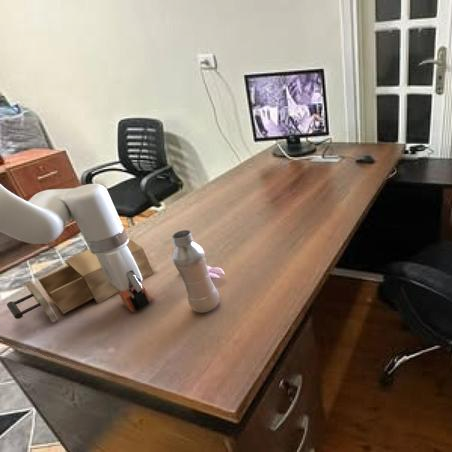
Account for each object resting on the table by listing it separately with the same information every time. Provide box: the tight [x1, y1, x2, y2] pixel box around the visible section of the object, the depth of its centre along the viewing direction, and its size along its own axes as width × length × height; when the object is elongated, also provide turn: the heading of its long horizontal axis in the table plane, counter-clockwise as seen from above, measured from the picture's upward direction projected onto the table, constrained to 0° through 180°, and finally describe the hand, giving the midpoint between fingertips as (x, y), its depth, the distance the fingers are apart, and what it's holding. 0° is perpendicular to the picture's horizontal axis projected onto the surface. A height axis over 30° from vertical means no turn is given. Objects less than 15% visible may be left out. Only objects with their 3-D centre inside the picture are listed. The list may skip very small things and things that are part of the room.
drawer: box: [6, 265, 94, 323], centre depth 85 cm, size 18×11×7 cm, turn 141°
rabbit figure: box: [178, 265, 225, 279], centre depth 91 cm, size 6×6×15 cm
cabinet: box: [64, 238, 154, 304], centre depth 93 cm, size 15×13×9 cm
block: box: [118, 285, 151, 313], centre depth 85 cm, size 4×4×4 cm
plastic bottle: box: [171, 229, 220, 314], centre depth 78 cm, size 6×7×20 cm
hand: (137, 302), depth 86 cm, fingers closed on block, 4 cm apart
